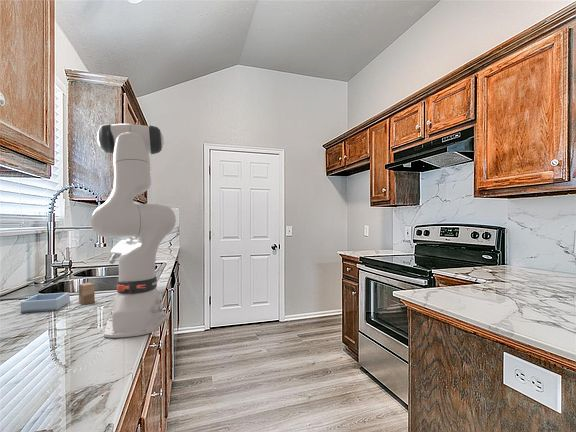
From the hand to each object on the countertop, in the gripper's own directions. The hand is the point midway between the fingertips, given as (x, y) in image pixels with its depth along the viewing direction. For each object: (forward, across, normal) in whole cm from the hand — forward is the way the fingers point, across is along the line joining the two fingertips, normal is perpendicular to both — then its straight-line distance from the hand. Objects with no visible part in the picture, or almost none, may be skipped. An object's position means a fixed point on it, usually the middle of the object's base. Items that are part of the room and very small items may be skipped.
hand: (115, 264), depth 142 cm
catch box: (+26, -6, -7) cm, 28 cm away
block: (+18, 0, +2) cm, 18 cm away
